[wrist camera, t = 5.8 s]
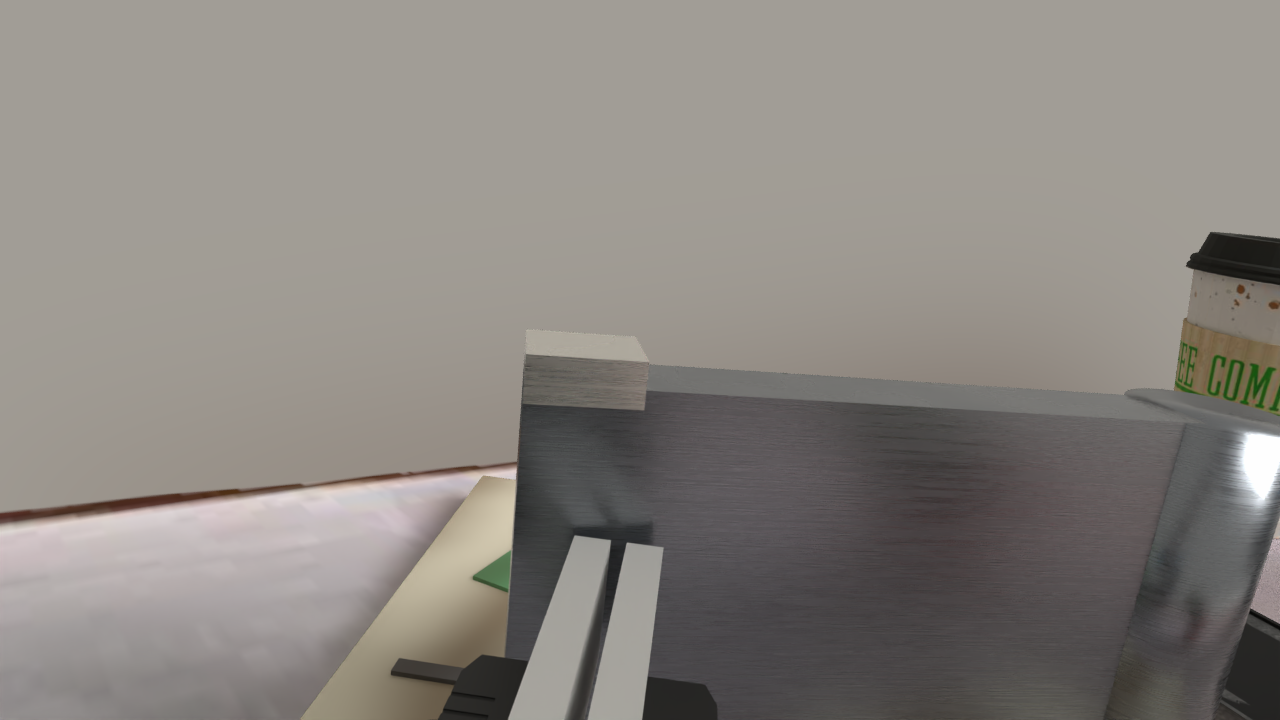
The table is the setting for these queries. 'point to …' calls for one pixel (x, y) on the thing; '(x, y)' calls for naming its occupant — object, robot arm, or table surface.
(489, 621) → the board
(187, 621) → the table surface
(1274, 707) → the phone
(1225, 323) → the coffee cup
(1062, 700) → the grey flat rounded-edge slab
